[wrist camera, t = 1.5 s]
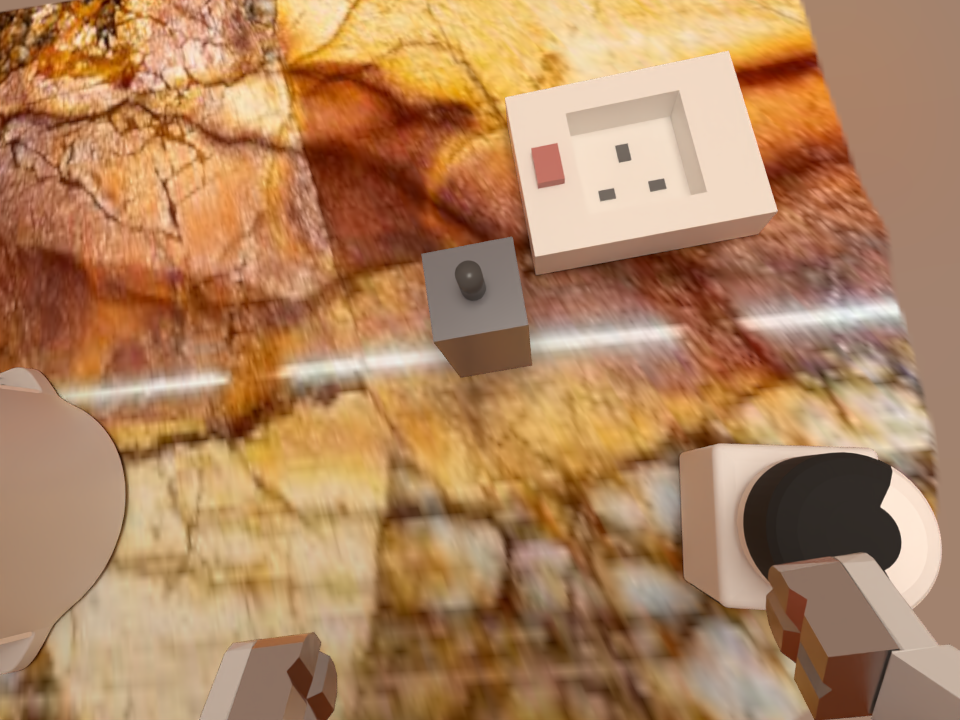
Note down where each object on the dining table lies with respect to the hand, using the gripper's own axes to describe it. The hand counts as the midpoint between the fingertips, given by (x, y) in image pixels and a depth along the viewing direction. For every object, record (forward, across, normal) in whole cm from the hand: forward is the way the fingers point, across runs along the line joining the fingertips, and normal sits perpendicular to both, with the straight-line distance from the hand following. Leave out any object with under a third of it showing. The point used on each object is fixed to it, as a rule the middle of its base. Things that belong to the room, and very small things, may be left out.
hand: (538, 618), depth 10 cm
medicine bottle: (+16, -11, +18) cm, 26 cm away
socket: (+31, -9, +2) cm, 33 cm away
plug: (+25, +2, +8) cm, 26 cm away
